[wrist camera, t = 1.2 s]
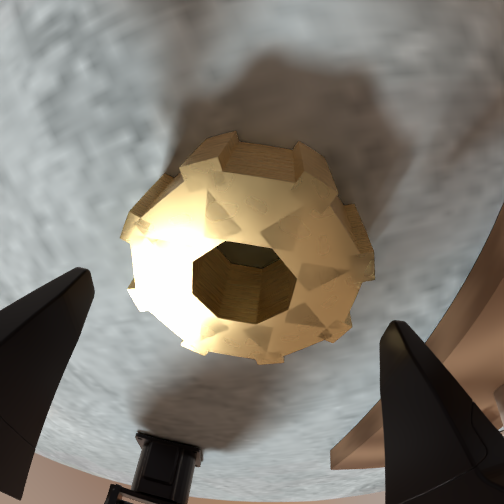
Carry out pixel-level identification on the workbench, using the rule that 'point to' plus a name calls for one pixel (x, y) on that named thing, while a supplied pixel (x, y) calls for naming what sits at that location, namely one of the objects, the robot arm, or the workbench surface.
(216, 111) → the workbench surface
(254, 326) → the brass gear
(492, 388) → the gear board
